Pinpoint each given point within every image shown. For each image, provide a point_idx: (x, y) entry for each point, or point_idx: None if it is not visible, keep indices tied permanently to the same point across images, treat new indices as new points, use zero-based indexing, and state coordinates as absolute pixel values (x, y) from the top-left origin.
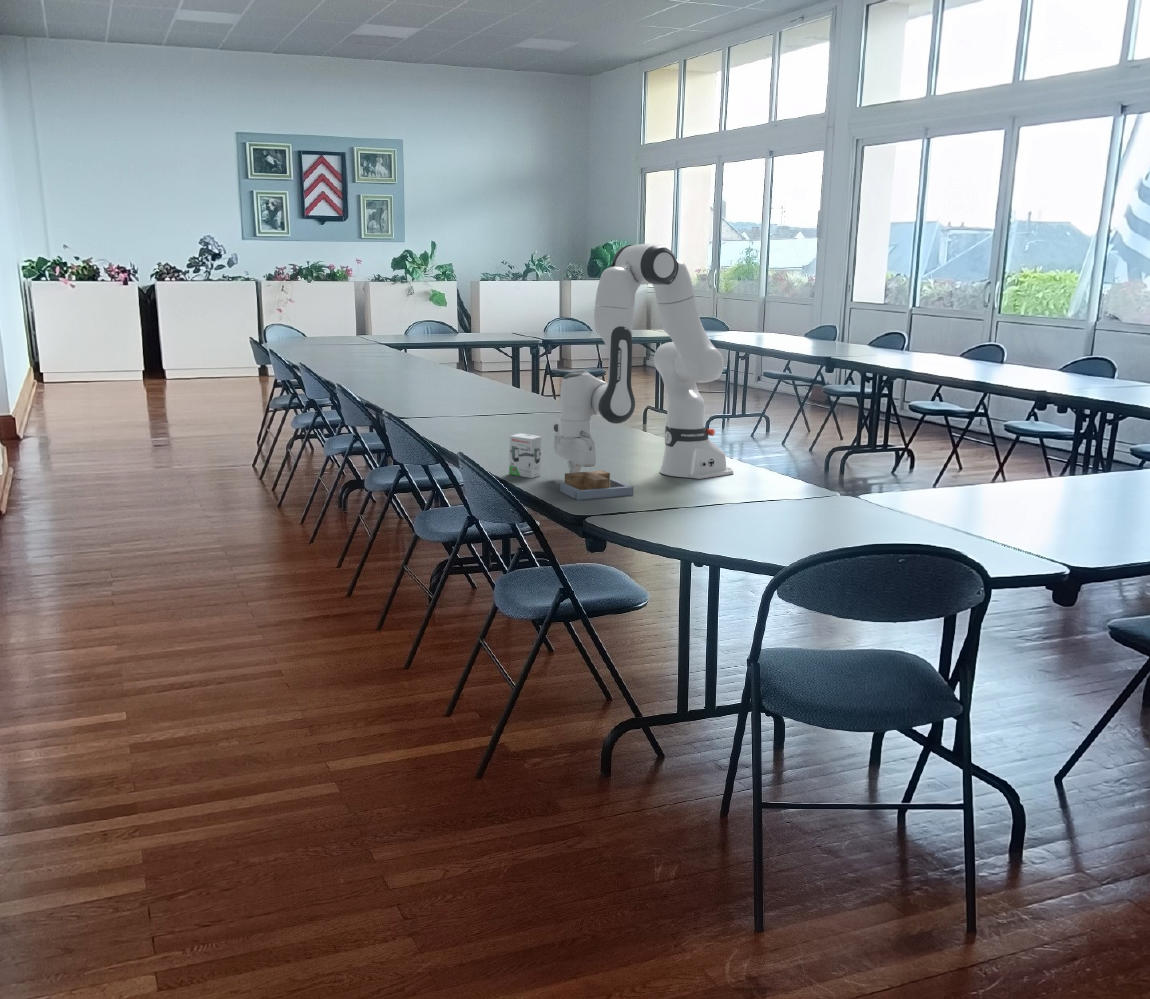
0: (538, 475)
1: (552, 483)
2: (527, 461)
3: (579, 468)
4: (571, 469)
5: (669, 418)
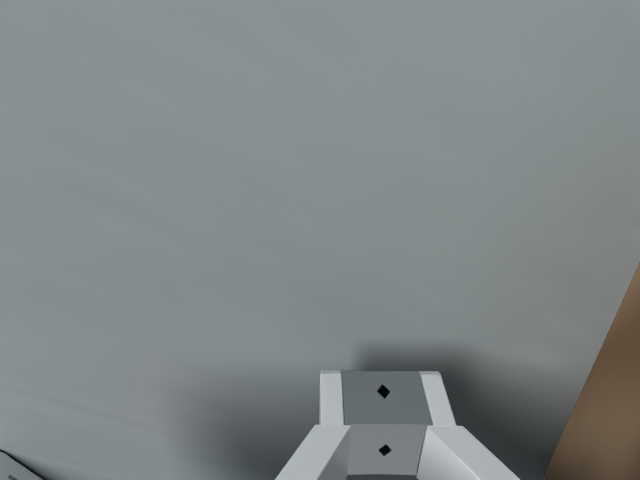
0: (25, 473)
1: None
2: None
3: (499, 477)
4: (345, 472)
5: None
